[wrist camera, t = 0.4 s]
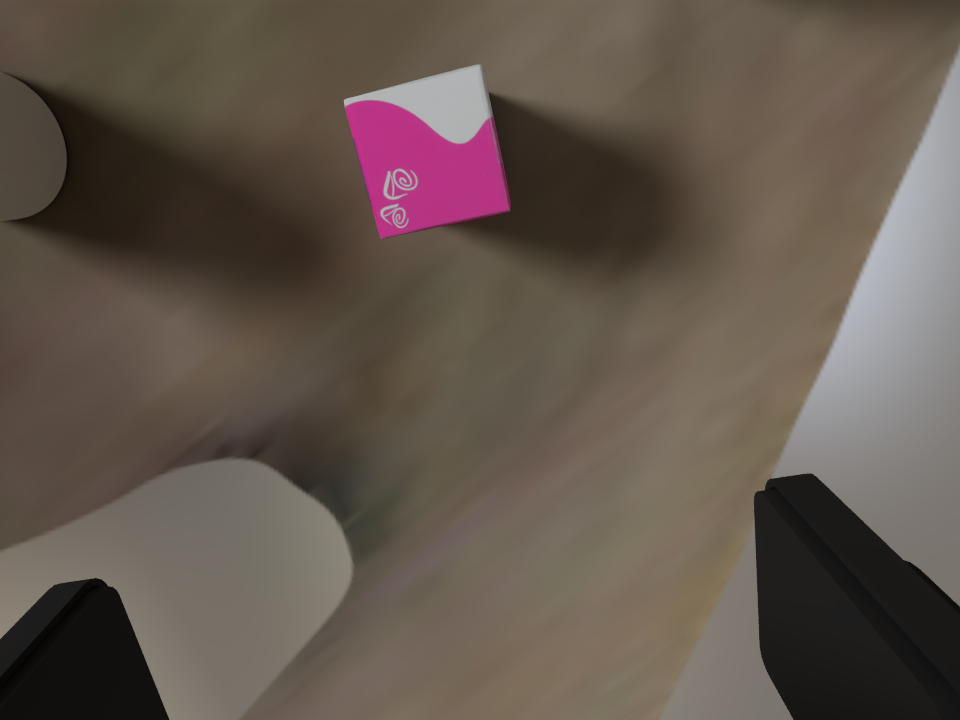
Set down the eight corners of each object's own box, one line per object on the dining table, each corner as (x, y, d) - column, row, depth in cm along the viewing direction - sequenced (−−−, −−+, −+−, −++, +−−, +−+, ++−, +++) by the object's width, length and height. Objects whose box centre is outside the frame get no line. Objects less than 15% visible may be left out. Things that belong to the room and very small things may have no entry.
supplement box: (381, 113, 36) (339, 93, 25) (486, 88, 35) (490, 57, 24) (407, 217, 37) (378, 242, 27) (507, 195, 37) (520, 210, 26)
